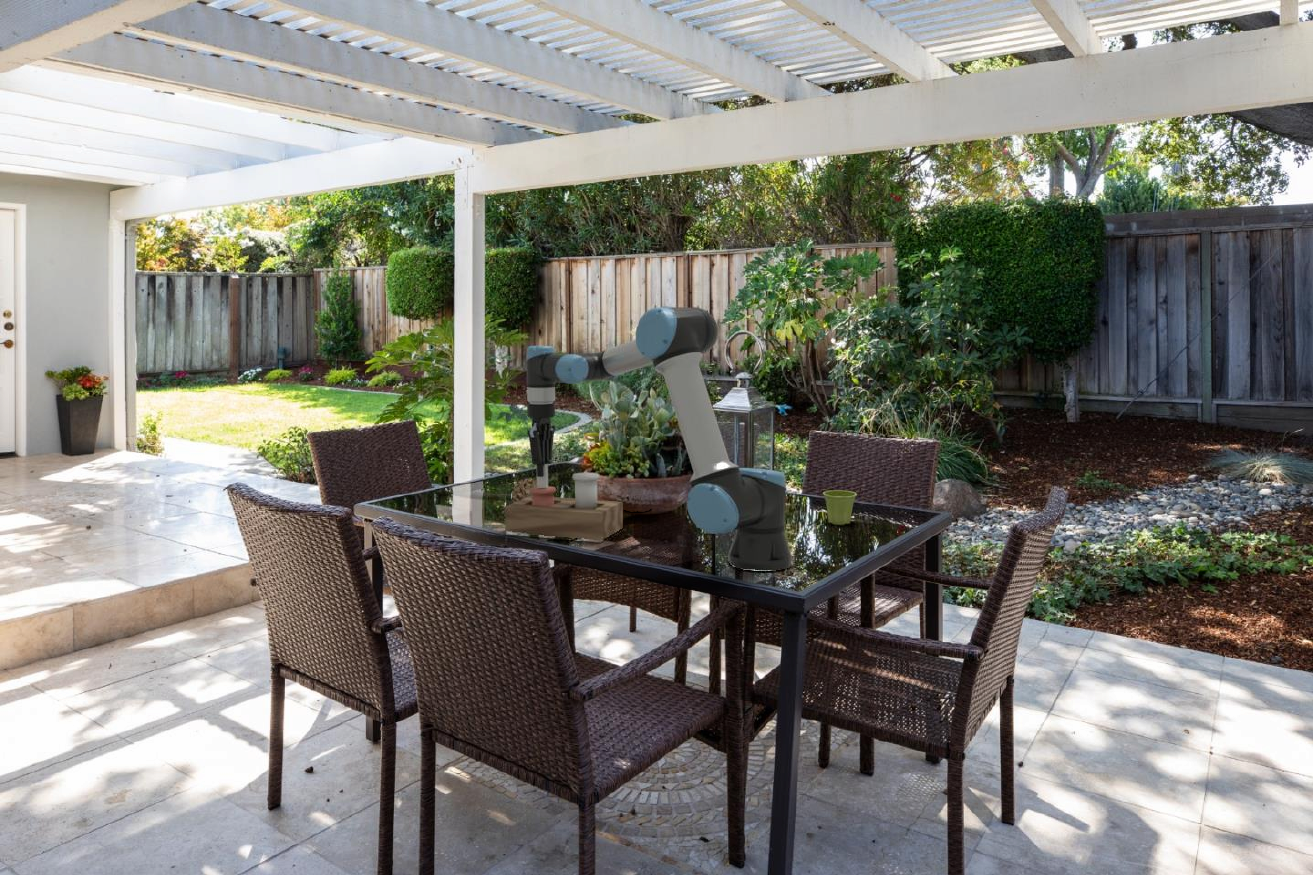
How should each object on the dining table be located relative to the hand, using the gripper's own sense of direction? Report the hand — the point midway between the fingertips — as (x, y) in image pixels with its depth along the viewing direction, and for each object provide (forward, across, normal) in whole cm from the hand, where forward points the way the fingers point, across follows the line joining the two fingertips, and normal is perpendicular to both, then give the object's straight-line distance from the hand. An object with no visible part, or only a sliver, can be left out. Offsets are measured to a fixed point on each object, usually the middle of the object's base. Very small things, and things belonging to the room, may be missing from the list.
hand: (542, 487), depth 255 cm
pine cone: (+13, -19, -14) cm, 27 cm away
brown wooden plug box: (+12, 0, +7) cm, 14 cm away
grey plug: (+7, 0, +13) cm, 15 cm away
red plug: (+11, 0, 0) cm, 11 cm away
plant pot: (+12, -36, +77) cm, 86 cm away
